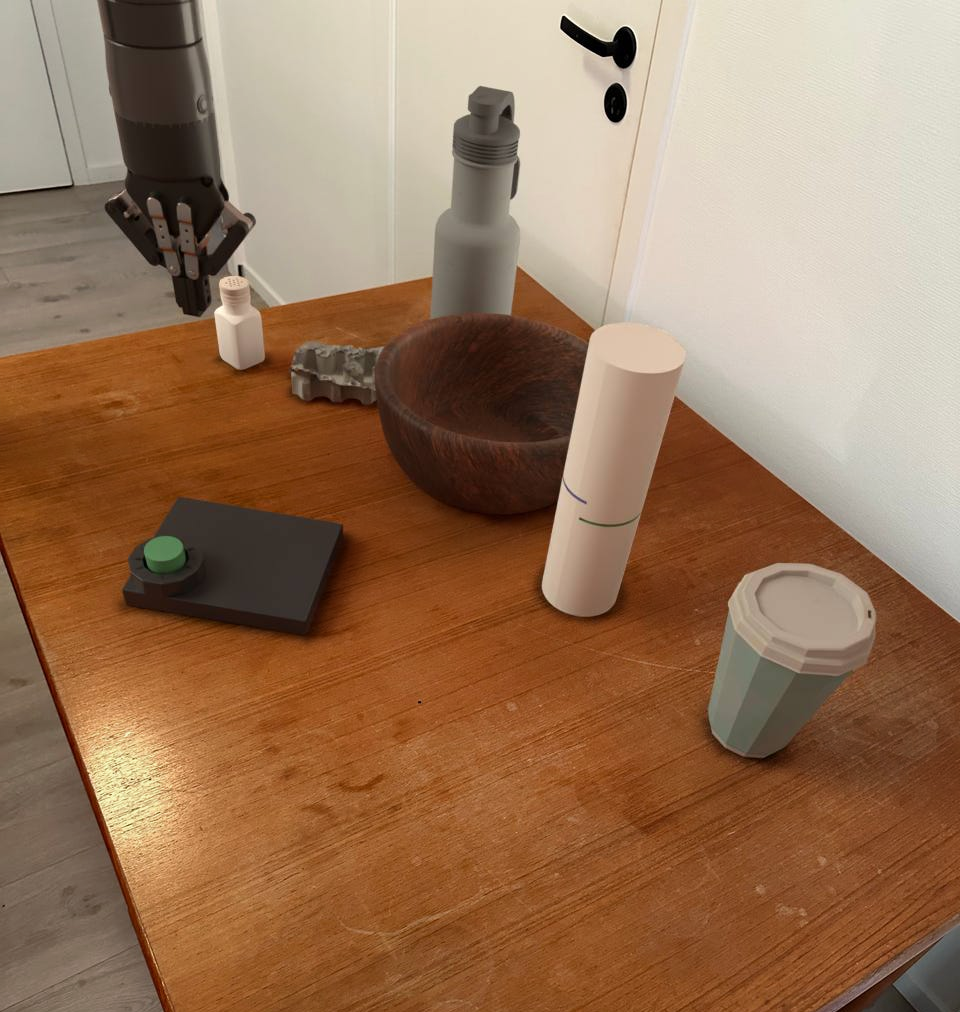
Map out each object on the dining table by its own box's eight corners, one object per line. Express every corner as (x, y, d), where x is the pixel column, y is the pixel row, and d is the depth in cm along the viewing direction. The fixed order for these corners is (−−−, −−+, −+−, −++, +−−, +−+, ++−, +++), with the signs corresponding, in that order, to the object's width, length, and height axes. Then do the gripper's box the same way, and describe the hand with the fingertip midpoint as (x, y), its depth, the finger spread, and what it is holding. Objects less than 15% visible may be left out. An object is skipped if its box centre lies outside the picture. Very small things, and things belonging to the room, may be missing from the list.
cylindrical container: (576, 553, 88) (630, 313, 69) (632, 593, 85) (705, 353, 66) (526, 585, 84) (569, 340, 66) (583, 628, 81) (645, 384, 62)
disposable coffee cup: (675, 758, 72) (731, 632, 61) (690, 663, 79) (742, 534, 68) (807, 795, 71) (888, 672, 60) (810, 694, 78) (883, 569, 67)
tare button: (141, 570, 76) (137, 557, 75) (155, 546, 79) (152, 533, 77) (177, 577, 76) (174, 563, 75) (191, 552, 78) (188, 539, 77)
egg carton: (287, 400, 101) (284, 368, 98) (298, 365, 106) (295, 333, 103) (382, 409, 101) (382, 376, 98) (388, 373, 106) (388, 341, 103)
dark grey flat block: (124, 605, 78) (116, 576, 75) (180, 511, 87) (174, 482, 84) (306, 636, 77) (303, 608, 75) (343, 538, 86) (342, 510, 83)
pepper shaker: (218, 359, 105) (207, 280, 98) (245, 347, 107) (237, 270, 100) (239, 373, 103) (230, 294, 96) (267, 361, 105) (260, 284, 98)
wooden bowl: (595, 554, 88) (616, 469, 80) (346, 509, 89) (344, 420, 81) (612, 414, 105) (631, 333, 97) (403, 377, 106) (406, 294, 98)
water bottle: (442, 316, 116) (458, 70, 96) (515, 332, 115) (547, 87, 95) (418, 354, 110) (430, 98, 89) (495, 371, 109) (525, 117, 88)
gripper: (262, 101, 72) (278, 305, 85) (104, 74, 72) (143, 281, 85) (228, 132, 67) (250, 344, 80) (58, 104, 67) (107, 319, 80)
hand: (195, 311), depth 82 cm, fingers closed
